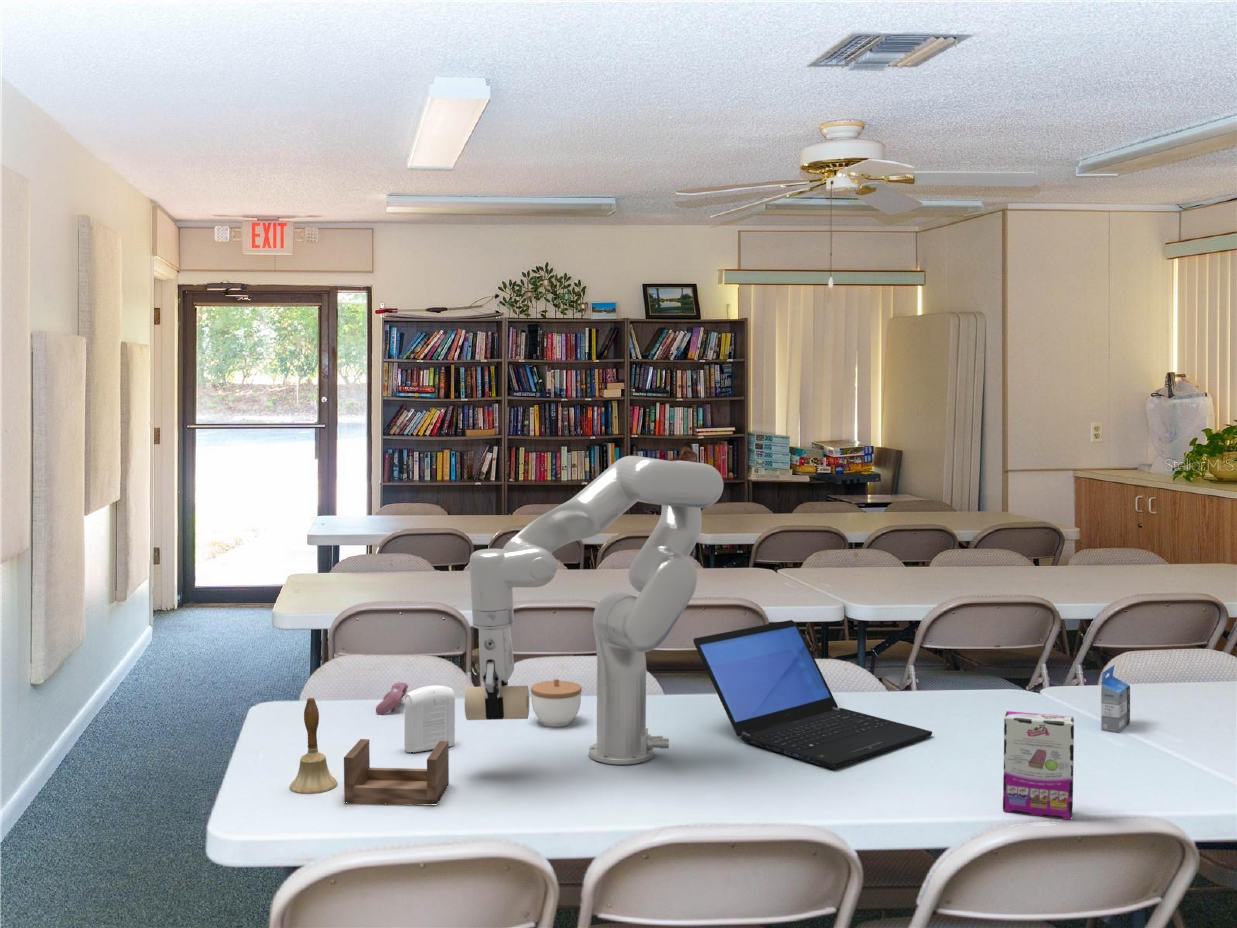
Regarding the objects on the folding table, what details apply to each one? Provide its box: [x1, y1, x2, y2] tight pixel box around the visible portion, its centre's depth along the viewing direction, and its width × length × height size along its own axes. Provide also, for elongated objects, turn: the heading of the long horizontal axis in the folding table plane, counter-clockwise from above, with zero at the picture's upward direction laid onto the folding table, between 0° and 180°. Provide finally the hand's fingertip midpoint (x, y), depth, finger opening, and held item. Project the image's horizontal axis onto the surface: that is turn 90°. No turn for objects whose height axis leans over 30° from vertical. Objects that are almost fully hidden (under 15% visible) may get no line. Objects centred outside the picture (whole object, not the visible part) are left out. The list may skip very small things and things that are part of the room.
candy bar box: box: [1002, 710, 1075, 820], centre depth 199 cm, size 11×5×16 cm, turn 69°
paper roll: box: [464, 685, 530, 721], centre depth 216 cm, size 11×6×6 cm, turn 87°
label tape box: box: [1100, 665, 1131, 734], centre depth 248 cm, size 9×4×12 cm, turn 143°
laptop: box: [692, 619, 933, 770], centre depth 243 cm, size 33×38×19 cm
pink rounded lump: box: [375, 681, 409, 715], centre depth 260 cm, size 10×5×7 cm, turn 0°
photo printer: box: [404, 684, 456, 754], centre depth 232 cm, size 10×4×12 cm, turn 123°
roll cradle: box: [343, 738, 450, 805], centre depth 206 cm, size 16×10×8 cm, turn 87°
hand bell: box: [289, 697, 338, 795], centre depth 210 cm, size 8×8×16 cm
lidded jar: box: [530, 678, 583, 728], centre depth 250 cm, size 11×11×9 cm
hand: (497, 712), depth 216 cm, fingers closed on paper roll, 6 cm apart
